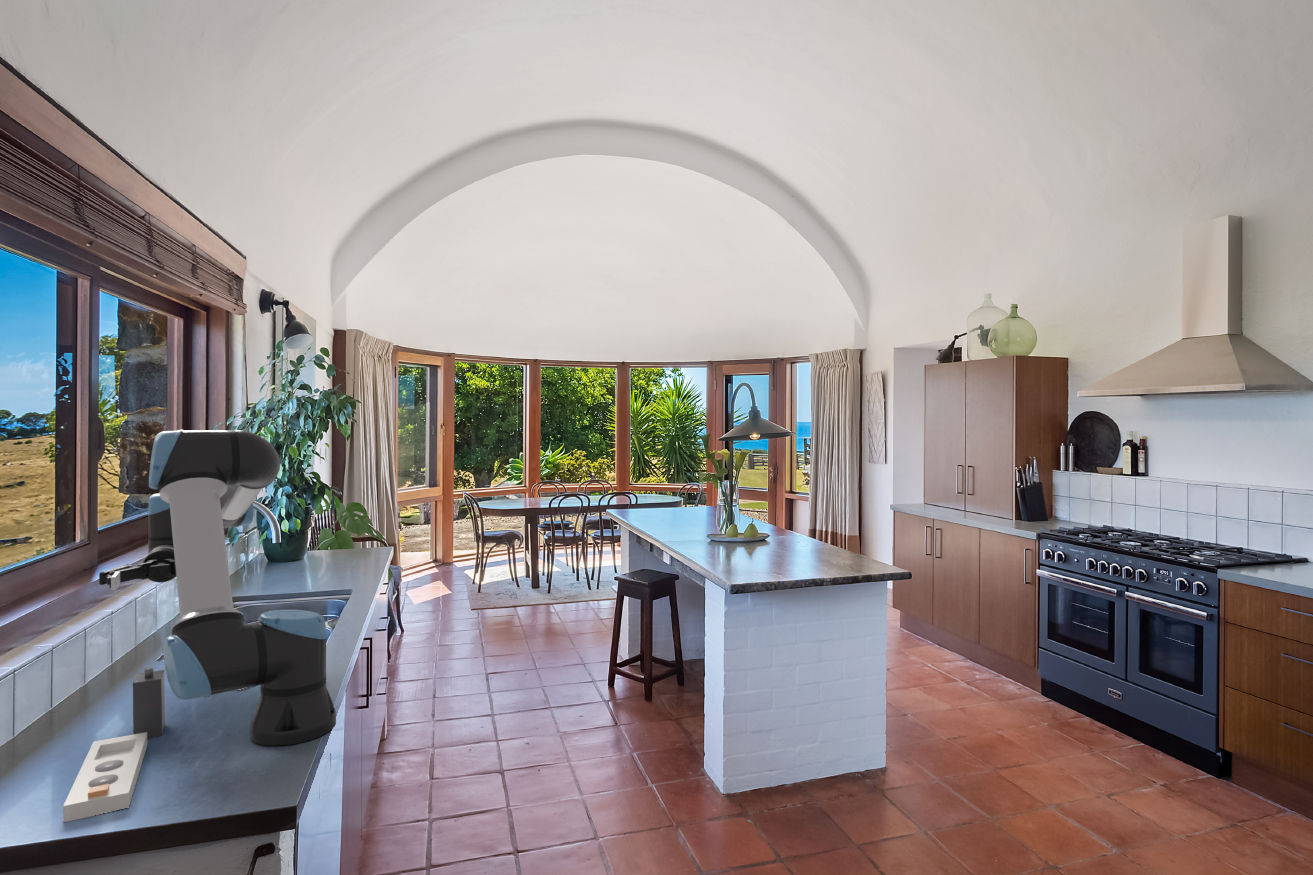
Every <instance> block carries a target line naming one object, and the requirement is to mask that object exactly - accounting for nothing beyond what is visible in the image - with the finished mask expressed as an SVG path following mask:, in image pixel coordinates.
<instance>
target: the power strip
mask: <svg viewBox="0 0 1313 875" xmlns="http://www.w3.org/2000/svg"><path fill="white" fill-rule="evenodd" d="M147 747H148V738H147V732H145V733H139V734H130V735H129V734H128V735H123V736H117V737H112V738H105V739H100V740H94V741H93V742H92V744H91V746H90V748H89V751H88V753H87V755H86V757H85V759H84V761H83V763H82V765H81V768H80V769H79V772H78V774H77V776H76V777H75V780H74V783H73V784H72V786H71V789H70V791H69V793H68V795H67V797H66V800H65V801H64V803H63V805H62V808H63V809H62V815H63V817H62V818H63V820H62V822H63V823H67V822H73V821H77V820H81V819H86V818H91V817H96V816H100V814H101V815H104V814H103V813H105V812H110V811H115V810H118V809H124V808H129V809H130V806H131V803H130V802H132V799H133V796H132V795H134V792H135V789H136V786H135V785H137V782H138V778H139V776H140V771H141V768H142V764H143V761H144V758H145V754H146V751H147ZM129 805H130V806H129ZM124 810H125V809H124ZM115 812H116V811H115ZM110 813H111V812H110ZM105 814H106V813H105ZM95 815H96V816H95Z"/></svg>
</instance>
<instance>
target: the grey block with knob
mask: <svg viewBox="0 0 1313 875" xmlns="http://www.w3.org/2000/svg"><path fill="white" fill-rule="evenodd" d="M165 700H166V699H165V669H162V670H155V671H154V667H147V668H144V672H141V673H136V674H135V677H134V680H133V682H132V725H133V726H132V728H133V730H132V731H133V732H132V733H133V734H139V733H145V732H147V739H149V738H150V739H151V738H157V737H161V736H163V733H164V729H165V725H166V718H165V717H166V715H165V714H166V712H165V710H166V709H165V708H166V707H165V706H166V705H165V703H166V702H165ZM133 734H132V735H133Z"/></svg>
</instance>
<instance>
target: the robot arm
mask: <svg viewBox="0 0 1313 875" xmlns="http://www.w3.org/2000/svg"><path fill="white" fill-rule="evenodd" d="M150 455H151V457H150V462H149V463H150V464H149V474H148V487H149V488H150V489H153V490H155V491H157V490H158V493H154V494H152V495H150V497H149V499H148V510H147V511H148V512H147V516H148V517H147V518H148V519H147V520H148V543H147V545H148V547H147V548H148V551H147V552H148V554H147V556H146V557H145V558H144V560H143V562H141V563H138V564H137V565H136V566H134V567H133V565H132V564H130V563H127V564H123V565H121V566H118V567H115V568H111V569H108V570H104V571H101V572H99V574H98V580H99V581H98V582H99V585H101V586H105V585H107V586H109V588H110V591H116V590H117V589H118V588H119V587H120V586H121V583H124V582H125V583H126V582H129V581H134V580H141V581H143V580H149V581H151V582H153V583H154V582H155V583H167V582H170V581H172V580H173V579H175V578H176V584H177V585H176V586H177V587H176V588H177V594H178V596H177V597H178V607H179V618H178V620H177V621H176V622H175V623H174V624H173V625H172V627H171V634H170V635H168V636H167V637H165V638H164V639H163V640H162V641H163V642H162V654H163V663H164V671H165V674H166V678H167V680H168V681H167V682H168V684H169V687H170V689H171V691H172V693H173V694H174V696H176V698H178V699H180V700H193V699H198V698H204V699H205V698H209V697H210V696H215V695H217V694H218V695H219V694H222V693H228V692H232V691H237V689H242V688H246V689H248V688H247V687H249V688H252V687H256V686H259V687H260V689H259V690H260V692H259V693H260V694H259V699H258V703H257V705H256V707H255V711H254V714H253V717H252V720H251V722H250V726H249V730H250V731H249V732H250V733H249V736H250V737H249V738H250V740H251V741H252V742H253V743H255V744H257V745H263V746H270V747H271V746H274V747H275V746H277V747H279V746H288V745H295V744H299V743H305V742H307V741H312V740H314V739H317V738H320V737H322V736H324V735H326V734H327V733H329V732H330V731H332V730H333V729H334V728H335V727H336V725H337V712H336V709H335V706H334V703H333V700H332V697H331V695H330V693H329V689H328V686H327V639H328V635H327V627H326V620H325V618H324V616H323V615H322V614H320V613H319V612H315V611H310V610H303V609H274V610H269V611H264V612H262V613H261V614H260V615H259V617H258V622H252V623H246V622H245V616H244V613H243V612H242V611H240V610H238V609H236V608H235V607H234V603H233V595H232V593H233V592H232V586H231V578H230V570H229V569H230V568H229V561H228V555H227V545H226V537H225V530H224V528H238V527H244V526H249V525H250V524H252V523H253V518H254V510H255V509H254V501H255V500H256V498H257V497H258V495H259V494H260V492H261V491H262V490H263V489H265V488H267V487H268V486H270V485H271V484H272V483H273V482H274V480H275V479H276V478H277V476H278V475H279V472H280V467H281V460H280V456H279V454H278V452H277V450H276V448H275V447H274V446H273V444H272V443H270V442H269V440H266V439H265V438H264V437H262V436H260V435H259V434H256V433H253V432H250V431H246V430H239V429H235V430H234V429H233V430H184V429H179V430H166V431H165V430H164V431H161V432H159V433H157V434H156V435H155V437H154V439H153V444H152V450H151V454H150Z"/></svg>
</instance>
